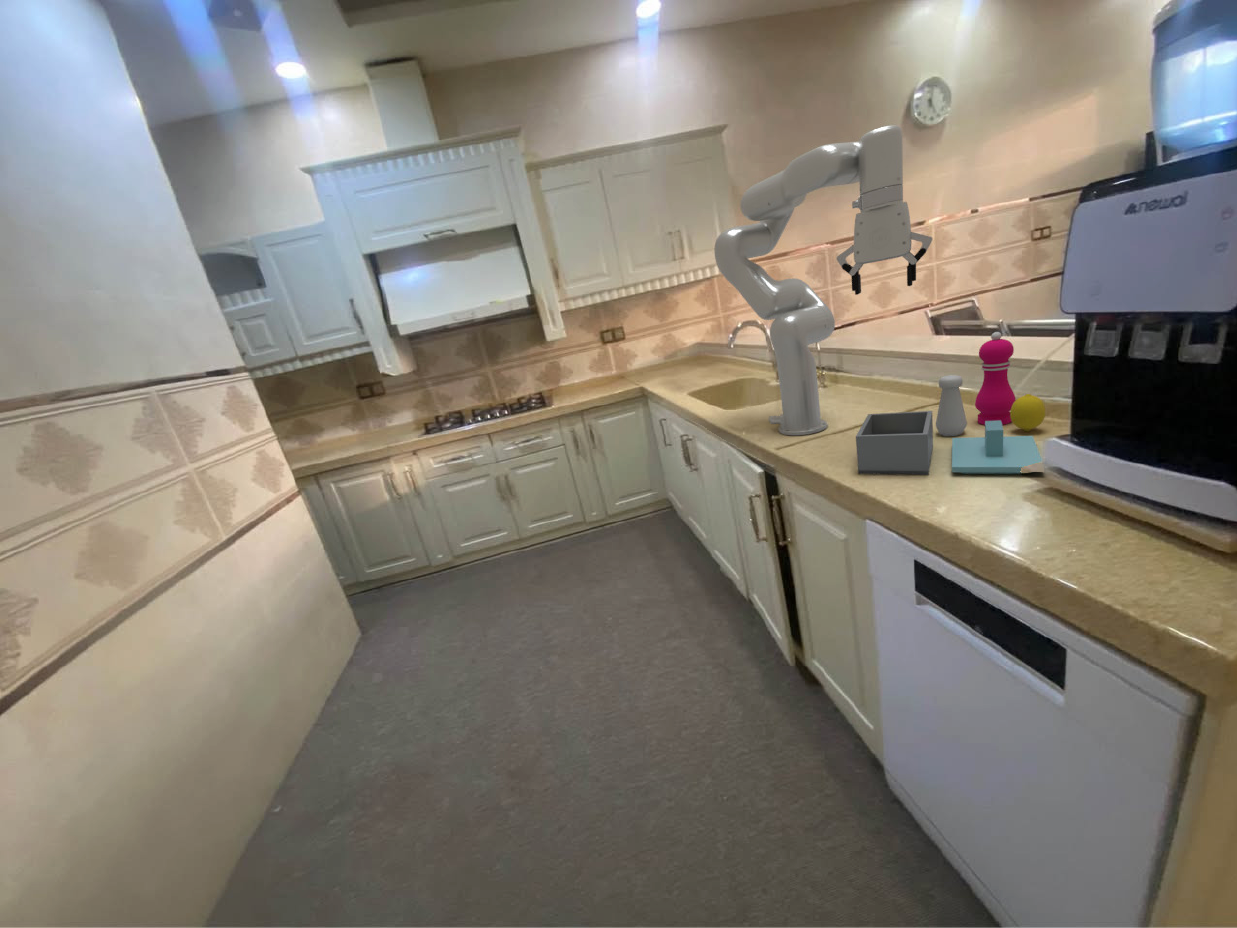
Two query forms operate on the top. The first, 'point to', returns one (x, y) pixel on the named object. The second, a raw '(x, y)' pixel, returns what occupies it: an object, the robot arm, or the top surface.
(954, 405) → the salt shaker
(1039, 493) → the top surface
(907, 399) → the top surface
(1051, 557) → the top surface
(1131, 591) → the top surface
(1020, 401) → the lemon
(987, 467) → the lid
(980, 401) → the pepper mill
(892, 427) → the tub
